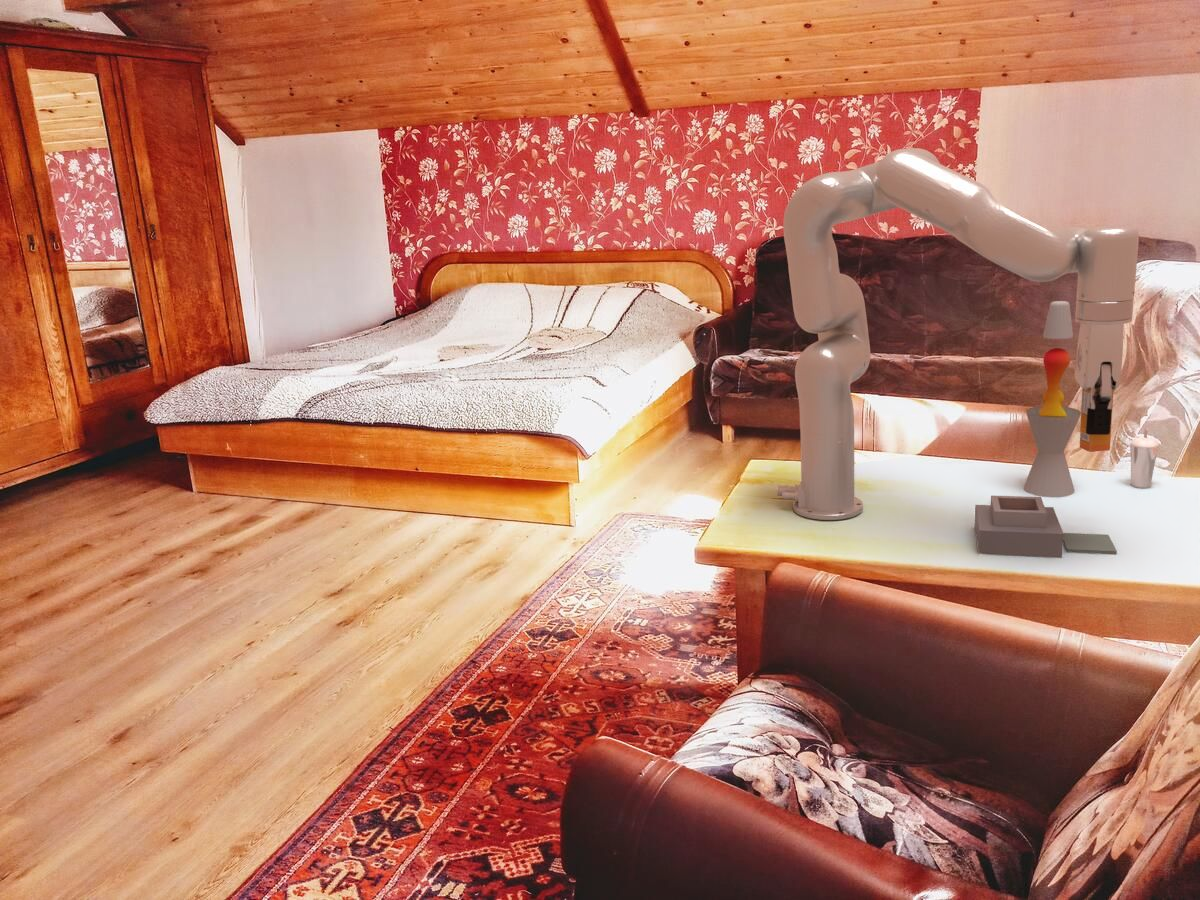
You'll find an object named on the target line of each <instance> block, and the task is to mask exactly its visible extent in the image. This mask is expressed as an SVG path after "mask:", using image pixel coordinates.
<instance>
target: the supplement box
mask: <svg viewBox="0 0 1200 900" xmlns="http://www.w3.org/2000/svg"><path fill="white" fill-rule="evenodd" d="M1095 388H1100V385H1095ZM1081 389H1082V391H1081V409H1080V412H1081V415H1080V430H1079V448H1080V449H1083V450H1085V451H1087V452H1088V453H1094V452H1104V451H1105V452H1107V451H1110V450H1111V438H1112V436H1111V435H1112V421H1113V413H1112V414H1111V426H1110V433H1109V434H1108V435H1089V434H1087V433H1086V422H1087V408H1090V390H1091V388H1088V390H1084V389H1083V388H1082V387H1081ZM1114 391H1115V390H1113V389H1112V407H1111V409H1112V410H1113V404H1114ZM1097 394H1100V393H1096V395H1095V397H1096V396H1097Z"/></svg>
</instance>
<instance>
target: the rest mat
mask: <svg viewBox="0 0 1200 900" xmlns="http://www.w3.org/2000/svg"><path fill="white" fill-rule="evenodd" d="M1063 534H1064V535H1063V547H1064V548H1065V550H1066V552H1067V553H1080V554H1081V553H1083V554H1084V553H1085V554H1101V555H1102V554H1103V555H1117V553H1118V551H1117V549H1116V546H1115V545H1114V543H1113V541H1112V539H1111V536H1110V535H1109V534H1105V533H1104V534H1101V533H1100V534H1099V533H1098V534H1097V533H1080V532H1077V533H1076V532H1075V533H1074V532H1063Z"/></svg>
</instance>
